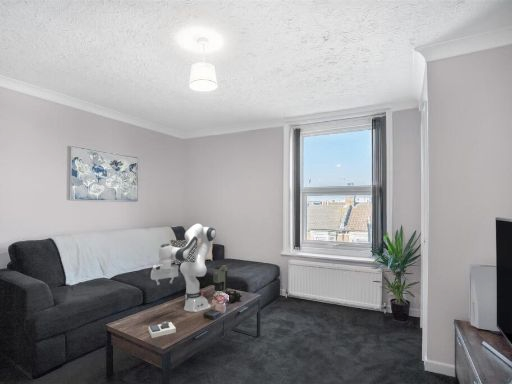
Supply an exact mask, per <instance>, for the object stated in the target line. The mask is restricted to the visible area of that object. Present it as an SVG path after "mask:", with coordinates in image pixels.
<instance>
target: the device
mask: <svg viewBox="0 0 512 384" xmlns="http://www.w3.org/2000/svg"><path fill="white" fill-rule="evenodd" d="M228 270H229V267H228V266H227V265H226V264H222V263H221V264H215V265H214V267H213V283H214V291H213V295H214V294H215V293H216V292H217V291H222V292H226V291H229V290H228Z"/></svg>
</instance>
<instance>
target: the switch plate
mask: <svg viewBox="0 0 512 384" xmlns="http://www.w3.org/2000/svg"><path fill="white" fill-rule="evenodd" d="M168 323H169V328H165V329H161V323H159V324H155V325H150V326H148V330H147V331H148V333H149V335H150V337H151V339H154V338H158V337H162V336H167V335H171V334H176V333H177V332H176V331H177V328H176V326H175V325H174V324H173V323H172V321H170V322H169V321H168Z"/></svg>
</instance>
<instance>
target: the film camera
mask: <svg viewBox="0 0 512 384" xmlns="http://www.w3.org/2000/svg"><path fill="white" fill-rule="evenodd" d="M225 293H226V294H228V295H229V302H227V304H233V303H240V302H241V298H242V295H241V293H240V292H239V291H236V290H235V289H232V290H227V291H226V292H225Z"/></svg>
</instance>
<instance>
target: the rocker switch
mask: <svg viewBox="0 0 512 384" xmlns="http://www.w3.org/2000/svg"><path fill="white" fill-rule="evenodd" d="M160 324H161V329H165V328H169V321H167V320H166V321H161V323H160Z"/></svg>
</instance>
